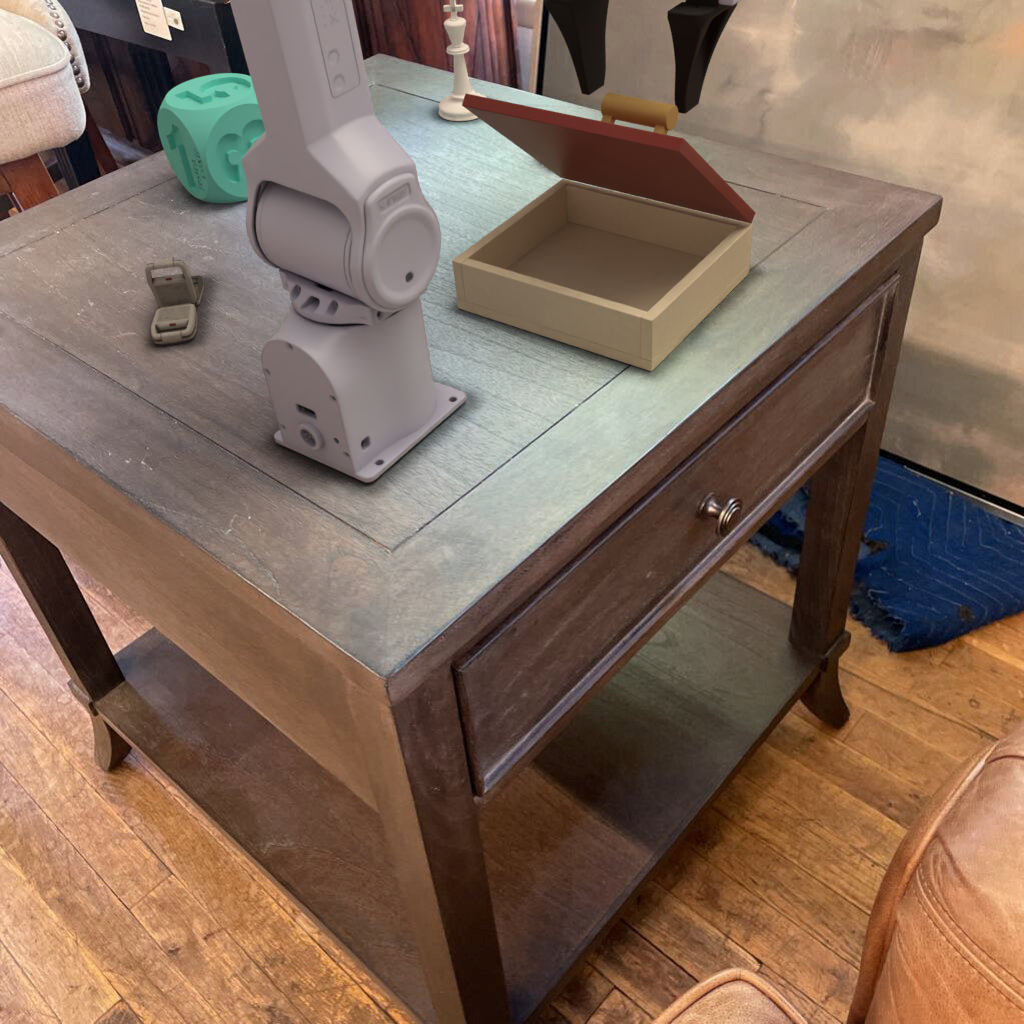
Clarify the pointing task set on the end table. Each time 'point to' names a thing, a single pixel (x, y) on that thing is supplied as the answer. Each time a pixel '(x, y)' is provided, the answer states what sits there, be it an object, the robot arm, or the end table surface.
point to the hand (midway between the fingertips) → (639, 98)
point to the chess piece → (457, 68)
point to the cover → (617, 151)
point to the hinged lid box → (604, 271)
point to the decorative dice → (211, 134)
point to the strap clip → (174, 302)
